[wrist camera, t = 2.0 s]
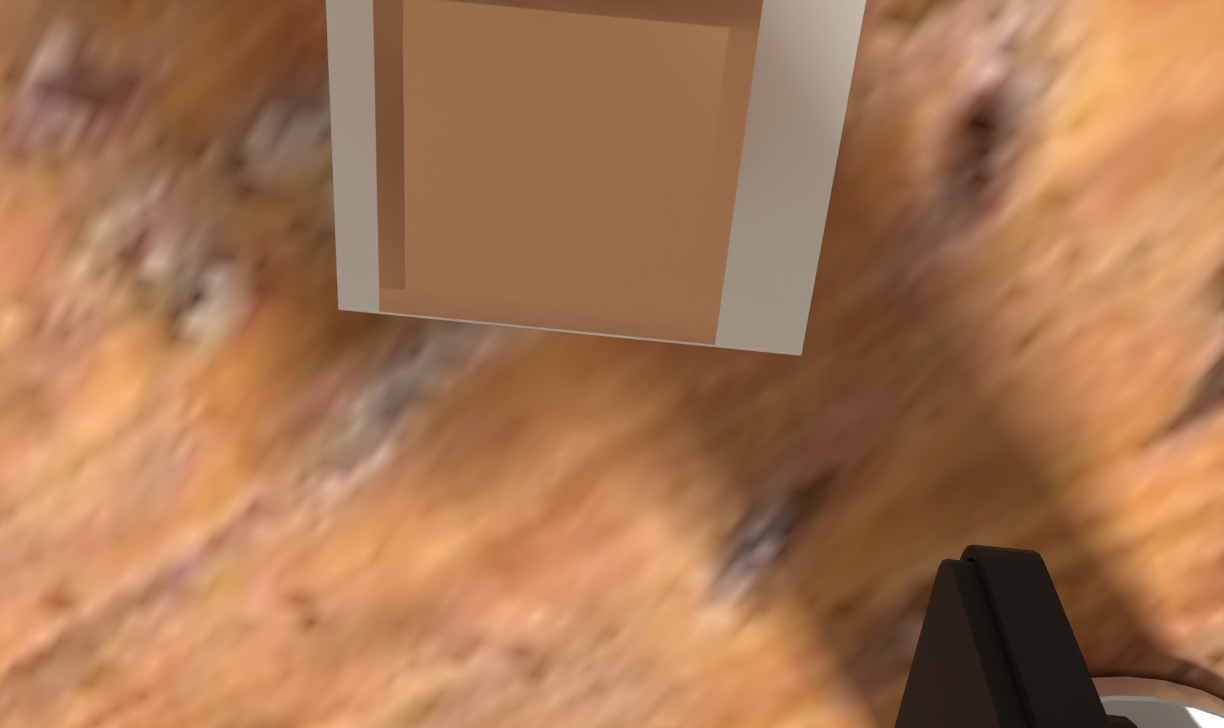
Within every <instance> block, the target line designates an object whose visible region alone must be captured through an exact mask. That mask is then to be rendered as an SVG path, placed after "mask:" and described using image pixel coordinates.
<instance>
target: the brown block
mask: <svg viewBox="0 0 1224 728" xmlns="http://www.w3.org/2000/svg"><path fill="white" fill-rule="evenodd" d="M762 6H763V0H373V30H374V77H375V125H376V172H377V219H378V267H379V311H380V312H390V313H400V314H410V315H420V316H430V317H441V318H451V319H461V320H471V321H481V322H491V323H501V324H511V325H521V326H531V327H541V328H551V329H561V330H571V331H581V332H591V333H602V334H612V335H622V336H632V337H642V338H652V339H662V340H672V341H682V342H692V343H702V344H712V345H715V341H716V334H717V327H718V320H719V312H720V305H721V298H722V291H723V284H724V277H725V270H726V262H727V255H728V248H729V241H730V234H731V227H732V220H733V213H734V205H735V198H736V191H737V184H738V177H739V170H740V163H741V156H742V148H743V141H744V134H745V127H746V120H747V113H748V106H749V98H750V91H751V84H752V77H753V70H754V63H755V56H756V49H757V41H758V34H759V27H760V20H761V13H762Z"/></svg>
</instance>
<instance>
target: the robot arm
mask: <svg viewBox="0 0 1224 728" xmlns="http://www.w3.org/2000/svg"><path fill="white" fill-rule="evenodd" d="M895 728H1224V700H1222V699H1220V698H1218V697H1216V696H1213V695H1211V694H1209V693H1207V692H1204V691H1202V690H1200V689H1196V688H1192V687H1188V686H1184V685H1180V684H1177V683H1173V682H1169V681H1165V680H1155V679H1146V678H1136V677H1098V678H1091V675H1090V673H1089V670H1088V668H1087V666H1086V663H1085V661H1084V658H1083V656H1082V653H1081V651H1080V649H1079V646H1078V644H1077V641H1076V639H1075V636H1074V634H1073V631H1072V629H1071V627H1070V624H1069V622H1068V619H1067V617H1066V614H1065V612H1064V609H1063V607H1062V605H1061V602H1060V600H1059V597H1058V595H1057V592H1056V590H1055V588H1054V585H1053V583H1052V580H1051V578H1050V575H1049V573H1048V570H1047V568H1046V566H1045V563H1044V561H1043V559H1042V558H1041V556H1040V554H1039V553H1037V552H1035V551H1031V550H1021V549H1011V548H1000V547H990V546H980V545H970V546H967V548H966V549H965V550H964V552H963V554H962V556H961V559H960V560H950V559H945V560H943V561H942V563H941V564H940V566H939V569H938V572H937V575H936V578H935V582H934V586H933V589H932V593H931V597H930V600H929V604H928V608H927V611H926V615H925V619H924V622H923V626H922V629H921V633H920V637H919V640H918V644H917V648H916V651H915V655H914V659H913V662H912V666H911V669H910V673H909V677H908V680H907V684H906V688H905V691H904V695H903V699H902V702H901V706H900V710H899V713H898V717H897V720H896V724H895Z"/></svg>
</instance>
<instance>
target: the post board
mask: <svg viewBox="0 0 1224 728" xmlns="http://www.w3.org/2000/svg"><path fill="white" fill-rule="evenodd" d="M865 4H866V0H763V6H762V13H761V20H760V27H759V34H758V41H757V49H756V56H755V63H754V70H753V77H752V84H751V91H750V98H749V106H748V113H747V120H746V127H745V134H744V141H743V148H742V156H741V163H740V170H739V177H738V184H737V191H736V198H735V205H734V213H733V220H732V227H731V234H730V241H729V248H728V255H727V262H726V270H725V277H724V284H723V291H722V298H721V305H720V312H719V320H718V327H717V334H716V341H715V345H712V344H702V343H692V342H682V341H672V340H662V339H652V338H642V337H632V336H622V335H612V334H602V333H591V332H581V331H571V330H561V329H551V328H541V327H531V326H521V325H511V324H501V323H491V322H481V321H471V320H461V319H451V318H441V317H430V316H420V315H410V314H400V313H390V312H380V311H379V267H378V219H377V172H376V125H375V77H374V30H373V0H326V18H327V43H328V68H329V92H330V117H331V141H332V166H333V191H334V215H335V240H336V265H337V289H338V310H347V311H357V312H367V313H377V314H387V315H397V316H407V317H417V318H427V319H437V320H447V321H457V322H467V323H478V324H488V325H498V326H508V327H518V328H528V329H538V330H548V331H558V332H568V333H578V334H588V335H598V336H608V337H618V338H628V339H638V340H648V341H659V342H669V343H679V344H689V345H699V346H709V347H719V348H729V349H739V350H749V351H759V352H769V353H779V354H789V355H799V356H801V354H802V349H803V343H804V338H805V332H806V327H807V321H808V316H809V310H810V305H811V299H812V294H813V288H814V283H815V277H816V272H817V266H818V261H819V255H820V250H821V245H822V239H823V234H824V228H825V223H826V217H827V212H828V206H829V201H830V195H831V190H832V184H833V179H834V173H835V168H836V162H837V157H838V152H839V146H840V141H841V135H842V130H843V124H844V119H845V113H846V108H847V102H848V97H849V91H850V86H851V80H852V75H853V69H854V64H855V58H856V53H857V48H858V42H859V37H860V31H861V26H862V20H863V15H864V9H865Z"/></svg>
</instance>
